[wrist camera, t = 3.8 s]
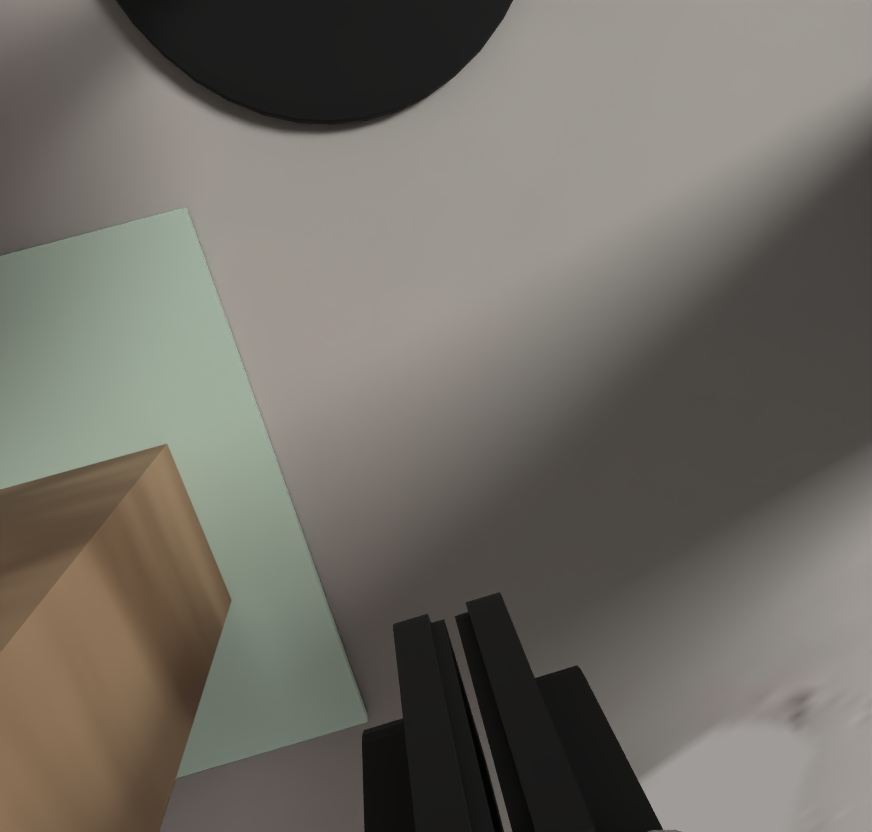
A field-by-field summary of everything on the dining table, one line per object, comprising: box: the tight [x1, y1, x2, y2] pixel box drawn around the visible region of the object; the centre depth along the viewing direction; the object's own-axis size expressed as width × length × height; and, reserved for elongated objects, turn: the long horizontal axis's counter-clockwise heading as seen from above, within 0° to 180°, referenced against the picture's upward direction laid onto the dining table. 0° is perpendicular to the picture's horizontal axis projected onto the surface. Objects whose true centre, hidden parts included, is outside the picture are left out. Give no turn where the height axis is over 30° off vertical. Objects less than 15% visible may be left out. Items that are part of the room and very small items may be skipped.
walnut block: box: [0, 444, 232, 832], centre depth 12 cm, size 5×5×12 cm
